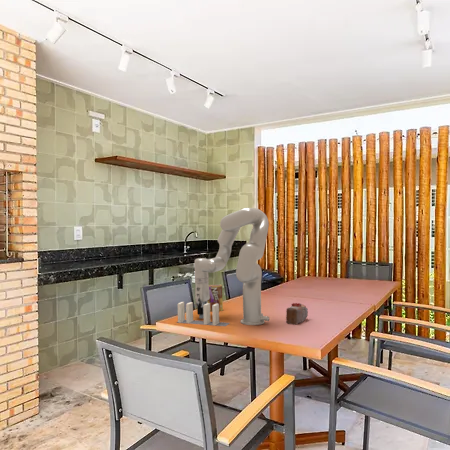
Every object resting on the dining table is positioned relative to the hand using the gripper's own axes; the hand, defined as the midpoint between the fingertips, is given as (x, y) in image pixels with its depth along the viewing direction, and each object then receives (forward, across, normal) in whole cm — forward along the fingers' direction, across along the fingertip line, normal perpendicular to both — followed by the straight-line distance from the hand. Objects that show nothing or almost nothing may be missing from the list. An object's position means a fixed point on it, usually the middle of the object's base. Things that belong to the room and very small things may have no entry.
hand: (202, 312), depth 217 cm
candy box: (+3, +20, 0) cm, 20 cm away
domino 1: (+3, -11, +8) cm, 14 cm away
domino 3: (+3, -11, -8) cm, 14 cm away
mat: (+3, -10, -5) cm, 12 cm away
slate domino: (+3, 0, 0) cm, 3 cm away
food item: (+3, +7, -51) cm, 52 cm away
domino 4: (+3, -11, -12) cm, 17 cm away
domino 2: (+3, -11, +2) cm, 12 cm away
